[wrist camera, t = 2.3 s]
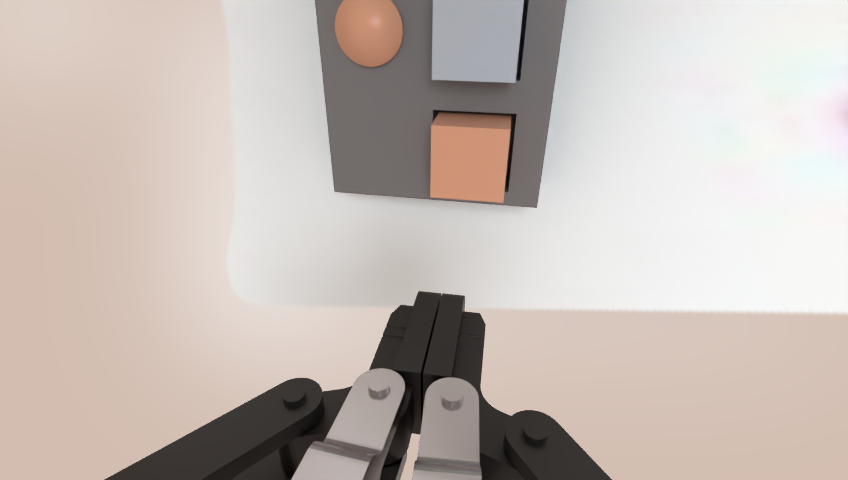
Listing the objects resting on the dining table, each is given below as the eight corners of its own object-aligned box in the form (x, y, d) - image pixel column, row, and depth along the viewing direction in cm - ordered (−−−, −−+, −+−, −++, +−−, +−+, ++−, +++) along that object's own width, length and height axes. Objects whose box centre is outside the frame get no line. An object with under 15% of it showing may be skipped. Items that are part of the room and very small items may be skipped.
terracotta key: (439, 111, 28) (431, 125, 26) (511, 115, 28) (510, 129, 25) (438, 178, 31) (430, 197, 28) (504, 183, 30) (503, 202, 27)
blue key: (442, -16, 25) (433, -15, 22) (524, -15, 24) (525, -15, 22) (440, 70, 27) (431, 79, 24) (515, 73, 26) (515, 82, 24)
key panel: (321, -190, 24) (289, -219, 21) (588, -206, 22) (602, -241, 19) (350, 173, 35) (332, 194, 31) (534, 186, 33) (537, 210, 29)
